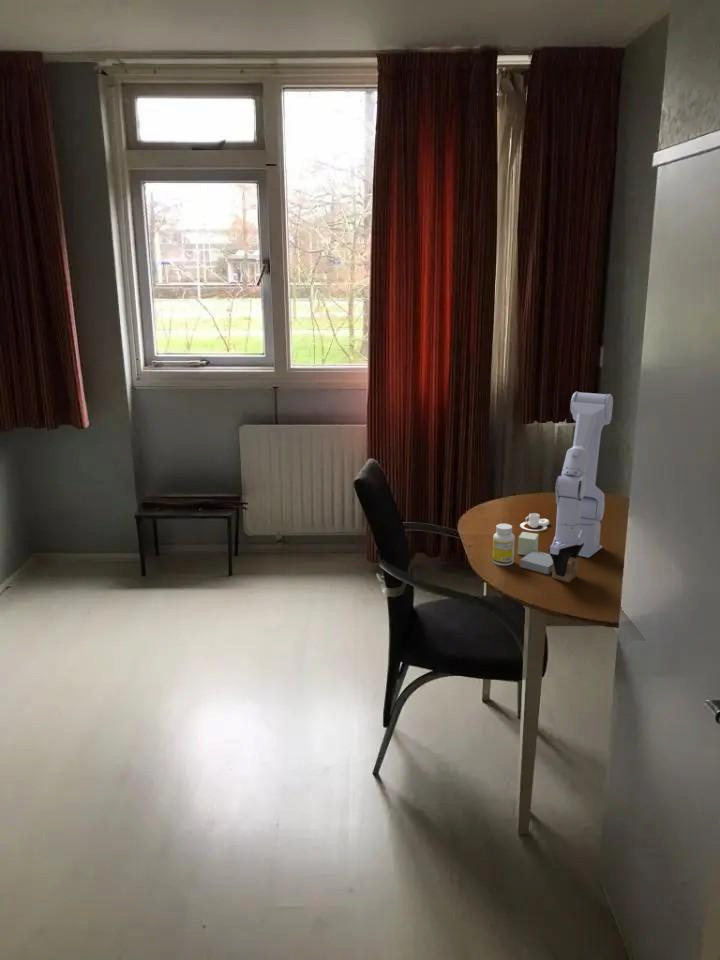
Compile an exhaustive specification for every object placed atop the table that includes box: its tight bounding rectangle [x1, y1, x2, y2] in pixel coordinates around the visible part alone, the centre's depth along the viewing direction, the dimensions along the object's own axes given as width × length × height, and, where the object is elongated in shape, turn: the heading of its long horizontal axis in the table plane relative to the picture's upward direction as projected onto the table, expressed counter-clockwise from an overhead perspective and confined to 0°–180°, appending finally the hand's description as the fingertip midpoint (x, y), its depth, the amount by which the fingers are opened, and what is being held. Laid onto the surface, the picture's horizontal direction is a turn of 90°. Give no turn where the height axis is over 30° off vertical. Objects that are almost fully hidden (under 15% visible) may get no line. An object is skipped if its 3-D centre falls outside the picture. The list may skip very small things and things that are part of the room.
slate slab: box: [519, 550, 553, 575], centre depth 203 cm, size 8×8×2 cm
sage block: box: [517, 531, 539, 556], centre depth 211 cm, size 4×4×5 cm
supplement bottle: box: [492, 523, 516, 566], centre depth 204 cm, size 6×6×10 cm
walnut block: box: [551, 557, 579, 583], centre depth 195 cm, size 4×4×5 cm
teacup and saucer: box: [519, 512, 550, 532], centre depth 230 cm, size 9×8×4 cm
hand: (564, 571), depth 195 cm, fingers closed on walnut block, 4 cm apart
